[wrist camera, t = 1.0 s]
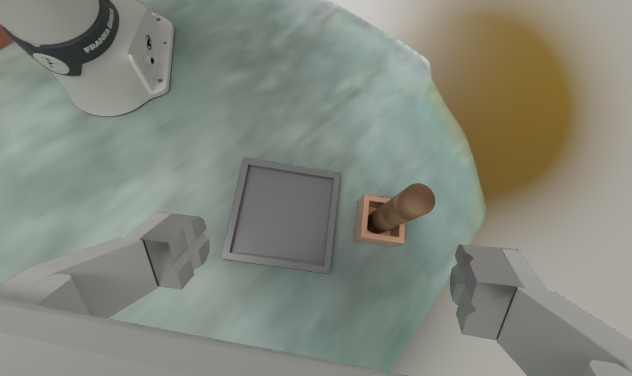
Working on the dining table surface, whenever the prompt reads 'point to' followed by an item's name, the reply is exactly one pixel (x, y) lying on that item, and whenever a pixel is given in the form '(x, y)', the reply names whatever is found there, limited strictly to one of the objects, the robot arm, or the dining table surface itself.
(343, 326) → the dining table surface
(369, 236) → the pot
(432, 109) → the dining table surface
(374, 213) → the dowel
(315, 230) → the tray
